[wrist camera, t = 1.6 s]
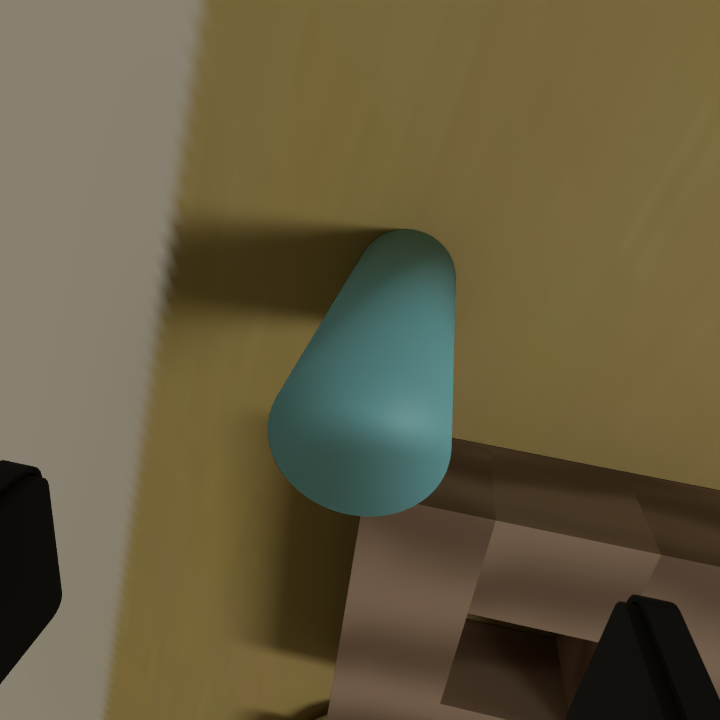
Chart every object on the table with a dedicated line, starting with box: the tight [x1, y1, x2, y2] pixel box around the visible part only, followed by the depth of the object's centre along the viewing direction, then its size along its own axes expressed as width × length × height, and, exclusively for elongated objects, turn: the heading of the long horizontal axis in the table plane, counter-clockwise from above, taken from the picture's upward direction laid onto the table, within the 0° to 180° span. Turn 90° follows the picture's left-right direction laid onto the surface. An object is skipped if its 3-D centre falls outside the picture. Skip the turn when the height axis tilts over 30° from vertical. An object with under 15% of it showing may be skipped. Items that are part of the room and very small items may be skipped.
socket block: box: [327, 438, 720, 720], centre depth 27 cm, size 16×16×5 cm
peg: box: [268, 229, 456, 517], centre depth 18 cm, size 4×4×12 cm
